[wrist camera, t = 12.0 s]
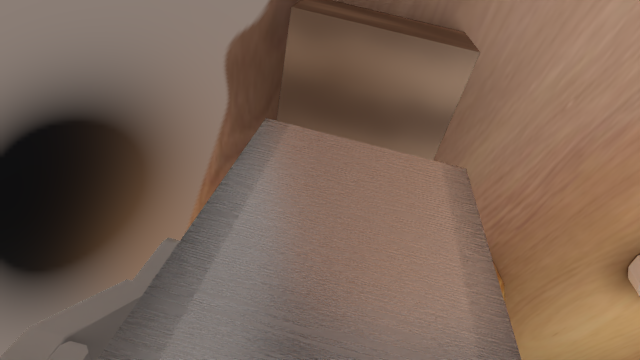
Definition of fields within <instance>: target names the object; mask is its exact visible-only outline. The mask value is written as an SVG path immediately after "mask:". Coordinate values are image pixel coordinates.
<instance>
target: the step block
mask: <svg viewBox="0 0 640 360" xmlns="http://www.w3.org/2000/svg"><path fill="white" fill-rule="evenodd" d="M479 55H480V51H479V50H478V49H477V48H476V46H475V45H474V44H473V42H472V41H471V40H470V39H469V37H468V36H467V35H466V33H465V32H461V31H457V30H453V29H448V28H444V27H440V26H436V25H432V24H428V23H423V22H419V21H415V20H411V19H407V18H403V17H398V16H394V15H390V14H386V13H382V12H378V11H373V10H369V9H365V8H361V7H357V6H353V5H348V4H344V3H340V2H336V1H332V0H302V1H300V2H298V3H297V4H295V5H294V6H292V7H291V14H290V21H289V29H288V37H287V44H286V52H285V59H284V67H283V75H282V82H281V90H280V98H279V105H278V113H277V121H279V122H283V123H287V124H291V125H295V126H299V127H303V128H307V129H311V130H315V131H319V132H323V133H327V134H331V135H335V136H339V137H342V138H346V139H350V140H354V141H358V142H362V143H366V144H370V145H374V146H378V147H382V148H386V149H390V150H394V151H398V152H402V153H406V154H410V155H414V156H418V157H422V158H426V159H430V160H433V159H434V157H435V155H436V152H437V150H438V148H439V146H440V143H441V141H442V139H443V136H444V134H445V132H446V130H447V127H448V125H449V123H450V121H451V118H452V116H453V114H454V111H455V109H456V107H457V105H458V102H459V100H460V98H461V96H462V93H463V91H464V89H465V86H466V84H467V82H468V80H469V77H470V75H471V73H472V70H473V68H474V66H475V64H476V61H477V59H478V57H479Z"/></svg>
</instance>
